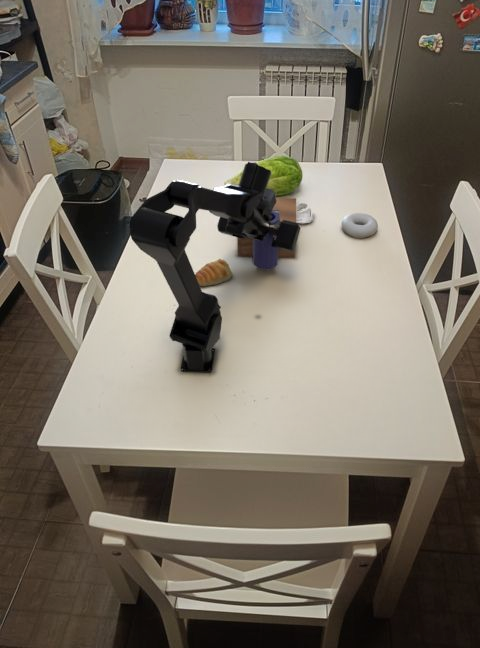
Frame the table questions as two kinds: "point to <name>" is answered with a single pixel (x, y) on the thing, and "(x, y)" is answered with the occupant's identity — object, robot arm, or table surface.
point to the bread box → (247, 249)
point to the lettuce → (277, 174)
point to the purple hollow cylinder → (266, 249)
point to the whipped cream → (303, 213)
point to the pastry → (214, 273)
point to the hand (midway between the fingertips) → (268, 237)
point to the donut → (359, 225)
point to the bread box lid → (286, 209)
